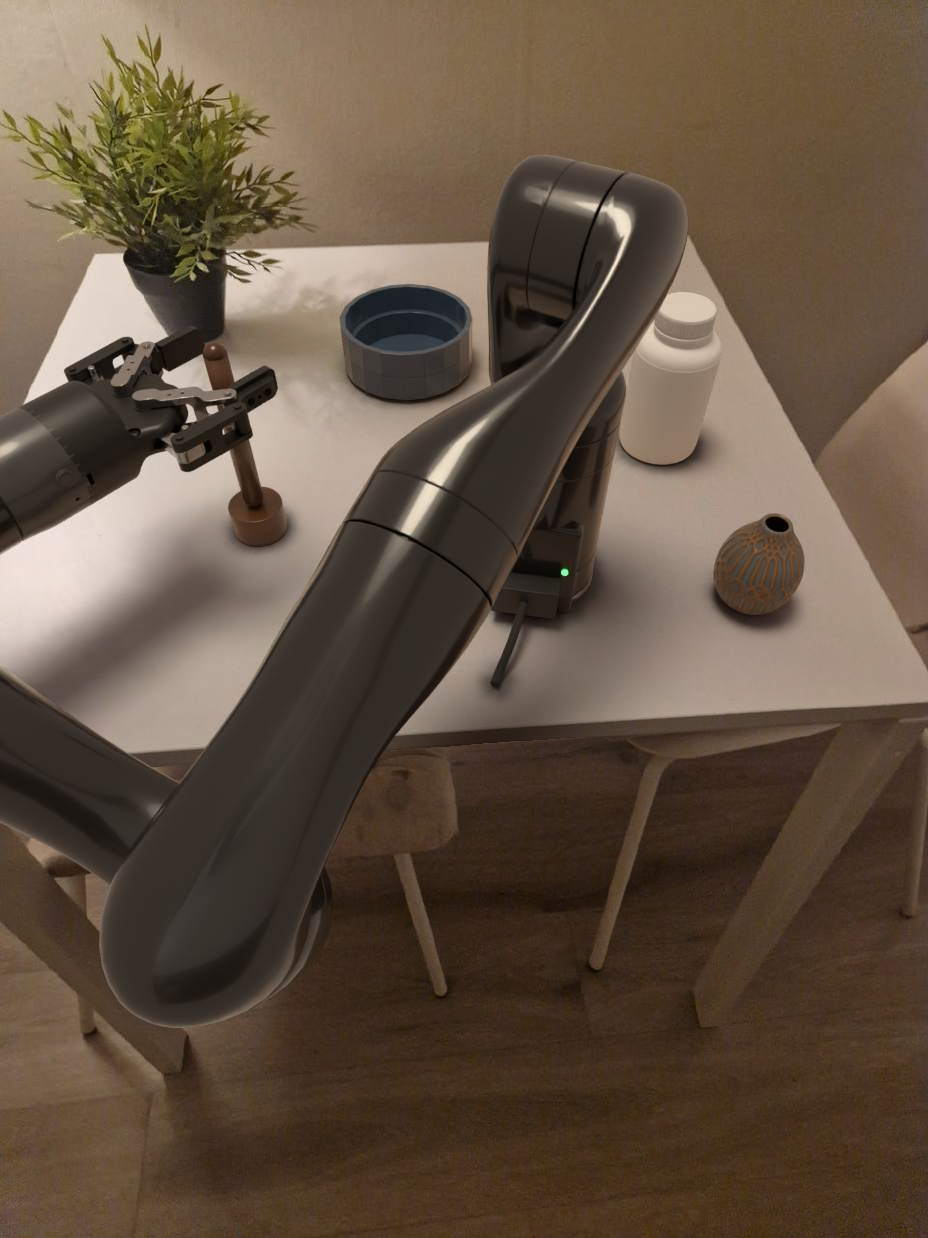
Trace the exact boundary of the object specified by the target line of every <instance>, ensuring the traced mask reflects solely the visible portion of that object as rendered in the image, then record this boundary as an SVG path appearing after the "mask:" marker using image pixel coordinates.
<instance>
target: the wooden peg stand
mask: <svg viewBox="0 0 928 1238" xmlns="http://www.w3.org/2000/svg"><path fill="white" fill-rule="evenodd" d="M202 358H203V362H204V365H205V370H206V373H207V376H208V380H209V383H210V387H211V391H213V390H220V389H229V385H230V384H232V383H234V382H236V380H235V378H234V374H233V370H232V366H231V362H230V358H229V353H228V351H227V349H226V347H225V346H224V345H223V344H222V343H221V342H219V341H210V342H207V343H206V344H205V347H204V348H203V354H202ZM216 408H217V412H218V411H220V410H222V409H223V407H222V405H216ZM231 430H233V428H232V427H227V428H223V434H226V433H228V432H229V431H231ZM228 452H229V454H230V459H231V462H232V466H233V468H234V473H235V475H236V479H237V483H238V486H239V490H240V491H238V492H236V493H235V494H234V495H233V496H232V497H231V498H230V499H229V502H228V505H227V510H228V515H229V518H230V520H231V524H232V527H233V530H234V533H235V537H236V539H238V541H240V542H241V543H243V544H245V545H247V546H252V547H263V546H268V545H271V544H274V543H276V542H277V541H279V540H280V539H281V538H282V537H283V536H284V535H285V533H286V532H287V529H288V520H287V516H286V512H285V511H286V510H285V507H284V503H283V498H282V496H281V495H280V493H279V492H278V491H276V490H275V489H273V488H271V487H268V486H262V484H261V480H260V477H259V473H258V469H257V464H256V460H255V457H254V454H253V453H254V452H253V449H252V445H251V441H250V439H249V440H247V441H245V442H243V443H242V444H240V445H238V446H236V447H235V448H233V449H231V450H229V451H228Z"/></svg>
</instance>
